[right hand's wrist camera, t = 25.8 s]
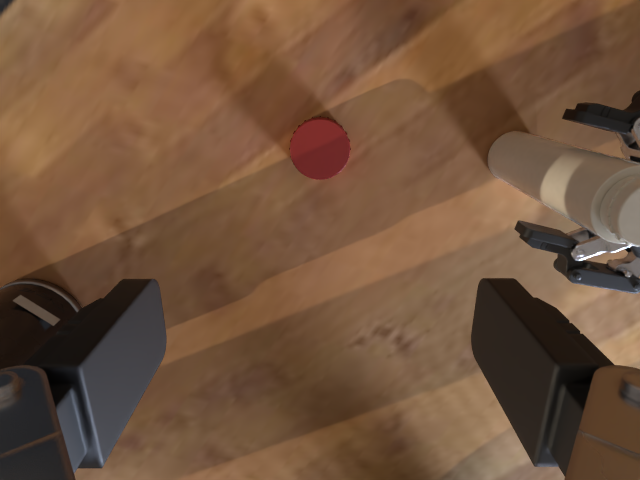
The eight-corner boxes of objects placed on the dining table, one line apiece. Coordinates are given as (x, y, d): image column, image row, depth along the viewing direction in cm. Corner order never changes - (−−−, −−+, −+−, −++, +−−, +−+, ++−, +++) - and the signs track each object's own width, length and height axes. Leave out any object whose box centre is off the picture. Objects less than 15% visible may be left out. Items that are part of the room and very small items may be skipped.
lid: (353, 120, 36) (355, 123, 35) (344, 179, 38) (345, 184, 36) (294, 112, 36) (293, 114, 34) (287, 171, 38) (286, 176, 36)
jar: (480, 175, 38) (594, 245, 22) (497, 125, 36) (633, 162, 21) (526, 186, 38) (671, 262, 22) (546, 137, 37) (716, 182, 21)
